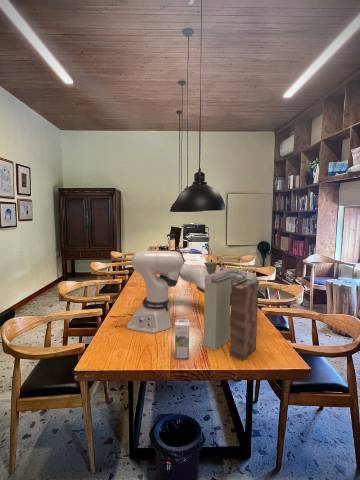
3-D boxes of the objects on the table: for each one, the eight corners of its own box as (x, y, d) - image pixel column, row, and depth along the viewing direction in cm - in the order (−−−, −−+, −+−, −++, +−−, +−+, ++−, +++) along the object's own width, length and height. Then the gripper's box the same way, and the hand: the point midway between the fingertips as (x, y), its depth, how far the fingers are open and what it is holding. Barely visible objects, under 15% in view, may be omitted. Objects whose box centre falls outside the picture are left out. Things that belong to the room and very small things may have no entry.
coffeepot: (202, 280, 235) (202, 260, 233) (204, 278, 244) (205, 258, 242) (219, 282, 230) (220, 261, 228) (222, 280, 239) (222, 259, 237)
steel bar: (230, 273, 133) (231, 267, 133) (236, 274, 131) (236, 268, 131) (205, 282, 116) (205, 275, 116) (211, 284, 114) (211, 276, 114)
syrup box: (188, 351, 116) (188, 318, 115) (189, 359, 110) (189, 324, 109) (174, 352, 116) (174, 318, 115) (174, 359, 110) (175, 324, 109)
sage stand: (217, 336, 131) (219, 274, 128) (229, 340, 127) (230, 276, 124) (203, 345, 122) (204, 279, 119) (215, 350, 118) (216, 281, 115)
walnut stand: (243, 345, 123) (245, 278, 120) (255, 349, 119) (258, 281, 116) (229, 355, 113) (231, 284, 110) (243, 360, 110) (245, 287, 106)
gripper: (259, 289, 131) (248, 279, 121) (221, 282, 144) (209, 272, 134) (262, 276, 133) (252, 266, 123) (225, 270, 146) (213, 260, 136)
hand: (229, 269), depth 128 cm, fingers open, 8 cm apart
